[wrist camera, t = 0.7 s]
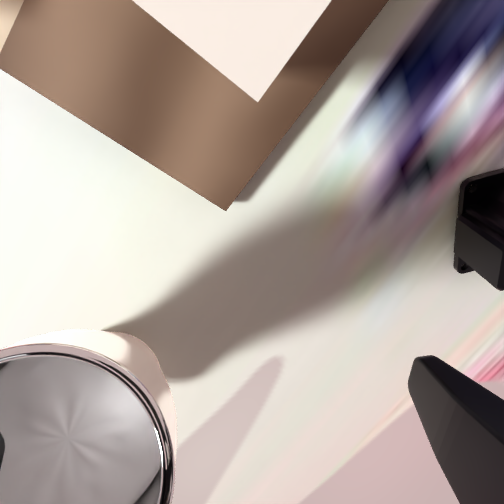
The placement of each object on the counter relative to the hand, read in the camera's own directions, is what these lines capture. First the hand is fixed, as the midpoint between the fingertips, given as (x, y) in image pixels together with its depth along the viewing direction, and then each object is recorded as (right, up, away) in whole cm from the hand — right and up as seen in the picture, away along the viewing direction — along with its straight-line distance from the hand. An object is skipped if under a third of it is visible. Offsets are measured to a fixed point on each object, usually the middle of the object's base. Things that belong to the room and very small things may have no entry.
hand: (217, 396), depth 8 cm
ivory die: (-1, +15, +5) cm, 16 cm away
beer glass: (-8, -5, +15) cm, 18 cm away
